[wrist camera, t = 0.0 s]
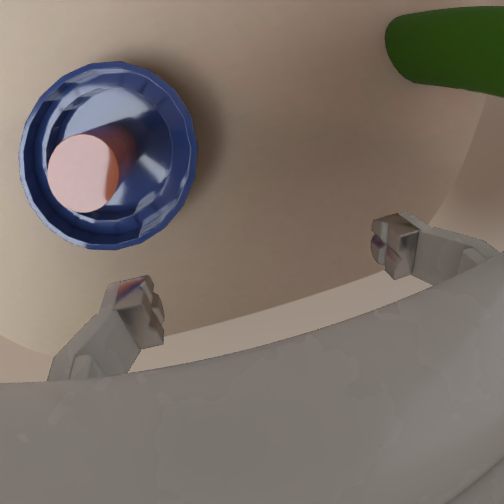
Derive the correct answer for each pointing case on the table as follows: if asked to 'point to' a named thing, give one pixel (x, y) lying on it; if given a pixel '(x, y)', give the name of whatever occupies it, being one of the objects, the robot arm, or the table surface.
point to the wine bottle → (451, 48)
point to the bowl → (145, 170)
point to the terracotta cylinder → (91, 166)
